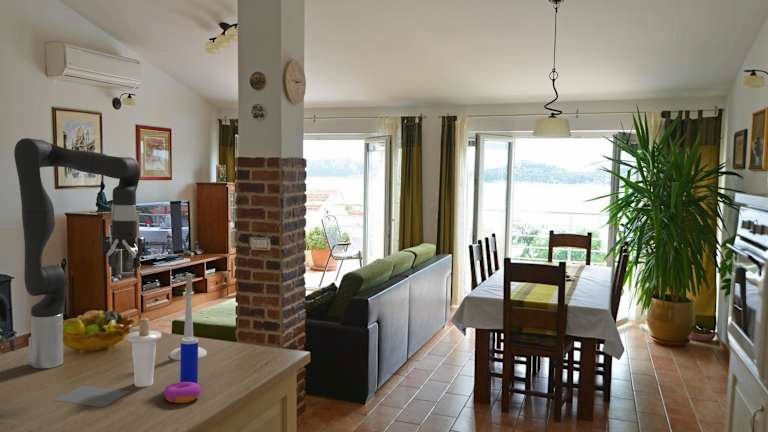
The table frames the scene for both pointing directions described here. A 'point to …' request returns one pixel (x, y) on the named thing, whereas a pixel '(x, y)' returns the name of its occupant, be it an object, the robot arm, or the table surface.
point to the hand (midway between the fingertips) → (124, 267)
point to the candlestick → (188, 321)
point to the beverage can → (189, 360)
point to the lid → (143, 333)
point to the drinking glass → (144, 363)
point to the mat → (92, 396)
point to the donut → (182, 392)
